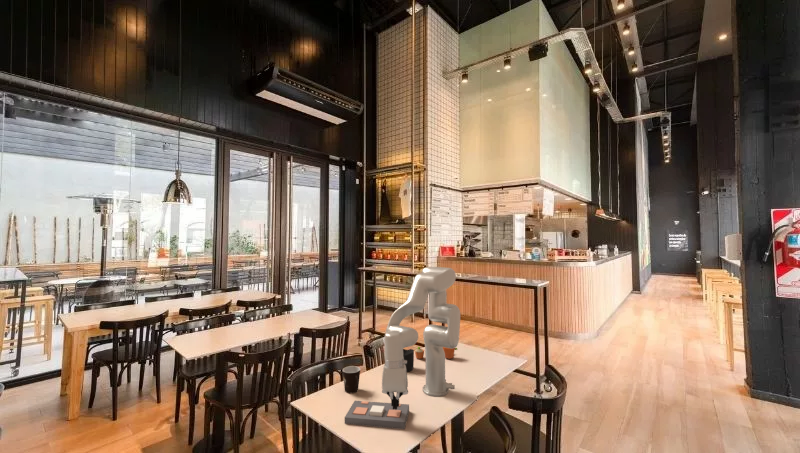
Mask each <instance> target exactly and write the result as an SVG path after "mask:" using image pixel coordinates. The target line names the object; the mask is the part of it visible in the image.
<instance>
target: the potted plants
mask: <svg viewBox="0 0 800 453" xmlns="http://www.w3.org/2000/svg"><path fill="white" fill-rule="evenodd" d="M442 348H443V350H444V353H445V359H448V360H449V359H453V358H454V357H455V351H458V348H457V347H455V348H445V347H442ZM424 354H425V349H424V348H421V347H420V346H418V347H417V348H415V350H414V356H415V358H416V359H418V360H422V359H423V358H424Z"/></svg>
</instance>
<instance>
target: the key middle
mask: <svg viewBox="0 0 800 453" xmlns="http://www.w3.org/2000/svg"><path fill="white" fill-rule="evenodd" d="M383 414H384V406H375V405H373V406H372V408H371V410H370V416H381V417H382V416H383Z"/></svg>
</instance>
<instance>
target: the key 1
mask: <svg viewBox="0 0 800 453" xmlns="http://www.w3.org/2000/svg"><path fill="white" fill-rule="evenodd" d="M367 411H368V408H362V407H356V409H355V410H354V412H353V414H355V415H366V413H367Z"/></svg>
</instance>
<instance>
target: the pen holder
mask: <svg viewBox="0 0 800 453" xmlns="http://www.w3.org/2000/svg"><path fill="white" fill-rule="evenodd" d="M403 357H404V360H407V364H405V365H406V370H407V372H410V371H413V370H414V361H415V359H414V358H415V350H414V349H412V348H410V349H406V348H403Z"/></svg>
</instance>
